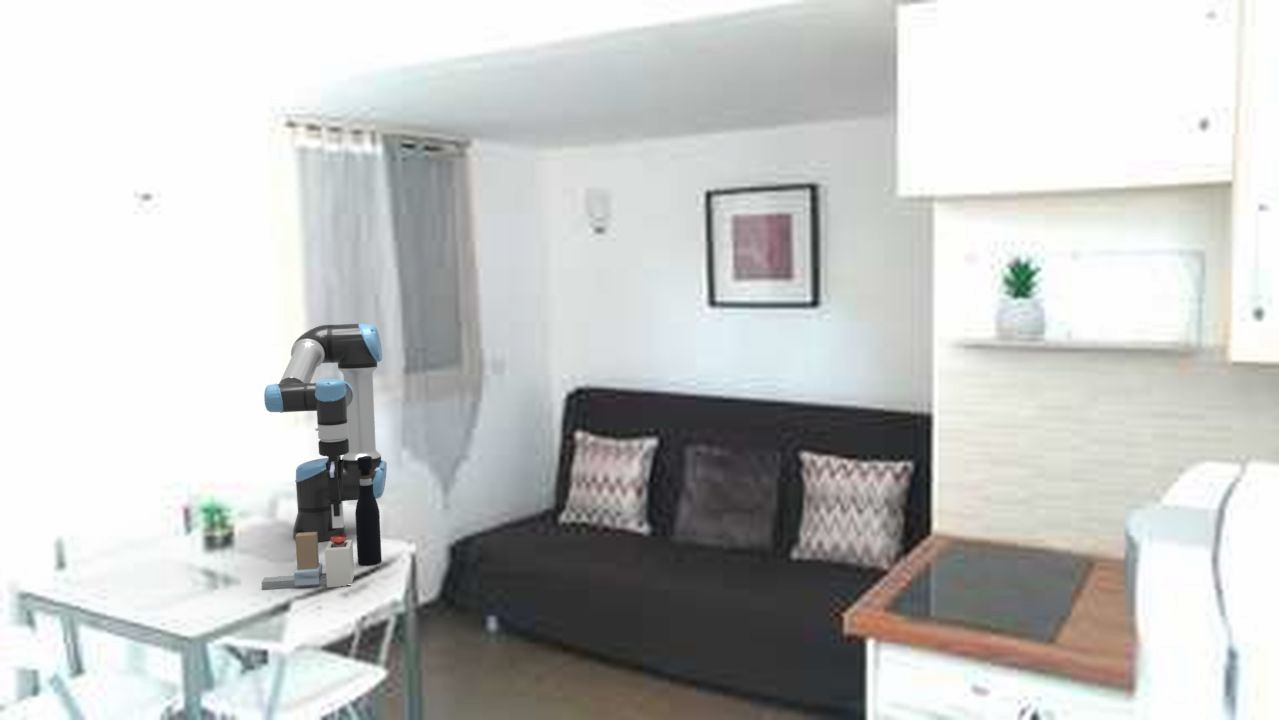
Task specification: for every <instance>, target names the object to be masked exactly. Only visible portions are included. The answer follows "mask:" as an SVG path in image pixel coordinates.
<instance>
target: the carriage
mask: <svg viewBox="0 0 1279 720" xmlns="http://www.w3.org/2000/svg"><path fill="white" fill-rule="evenodd" d="M295 537H296V540H295V550H296V568H295V570H294V572H293V575H294V579H295V586H296V585H310V584H319V583H320V582H319V576H320V574H321V573H324V571H323V562H320V557H319V554H320V553H319V544H318V543H319V542H318V536H317V532H306V533H297V535H296V536H295Z"/></svg>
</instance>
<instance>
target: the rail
mask: <svg viewBox="0 0 1279 720" xmlns="http://www.w3.org/2000/svg"><path fill="white" fill-rule="evenodd" d="M319 582H320V583H319V584H310V585H296V586H295V579H294V574H292V575H281V576H279V575H278V576H265V577H263V579H262V581H261V590H266V589H267V590H280V589H291V588H305V587H306V588H307V587H308V588H309V587H319V586H320V587H321V586H327V578H326V572H323V573H321V574H320V576H319Z"/></svg>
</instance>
